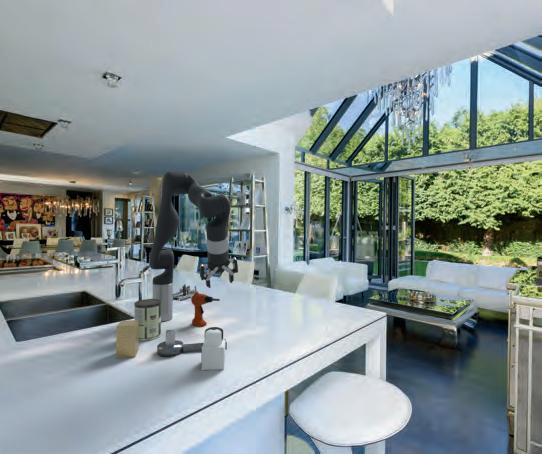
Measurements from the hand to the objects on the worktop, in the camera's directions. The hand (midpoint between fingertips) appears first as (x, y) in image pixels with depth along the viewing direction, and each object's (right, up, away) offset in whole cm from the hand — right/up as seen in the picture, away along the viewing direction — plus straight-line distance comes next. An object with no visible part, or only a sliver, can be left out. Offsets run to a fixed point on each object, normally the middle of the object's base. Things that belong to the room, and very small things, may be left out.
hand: (220, 284), depth 120 cm
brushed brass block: (-31, -23, -11) cm, 40 cm away
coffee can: (-31, -23, +7) cm, 39 cm away
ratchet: (-9, -23, -7) cm, 25 cm away
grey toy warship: (-36, -22, +71) cm, 83 cm away
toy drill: (-10, -23, +19) cm, 31 cm away
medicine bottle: (+1, -23, -18) cm, 30 cm away
